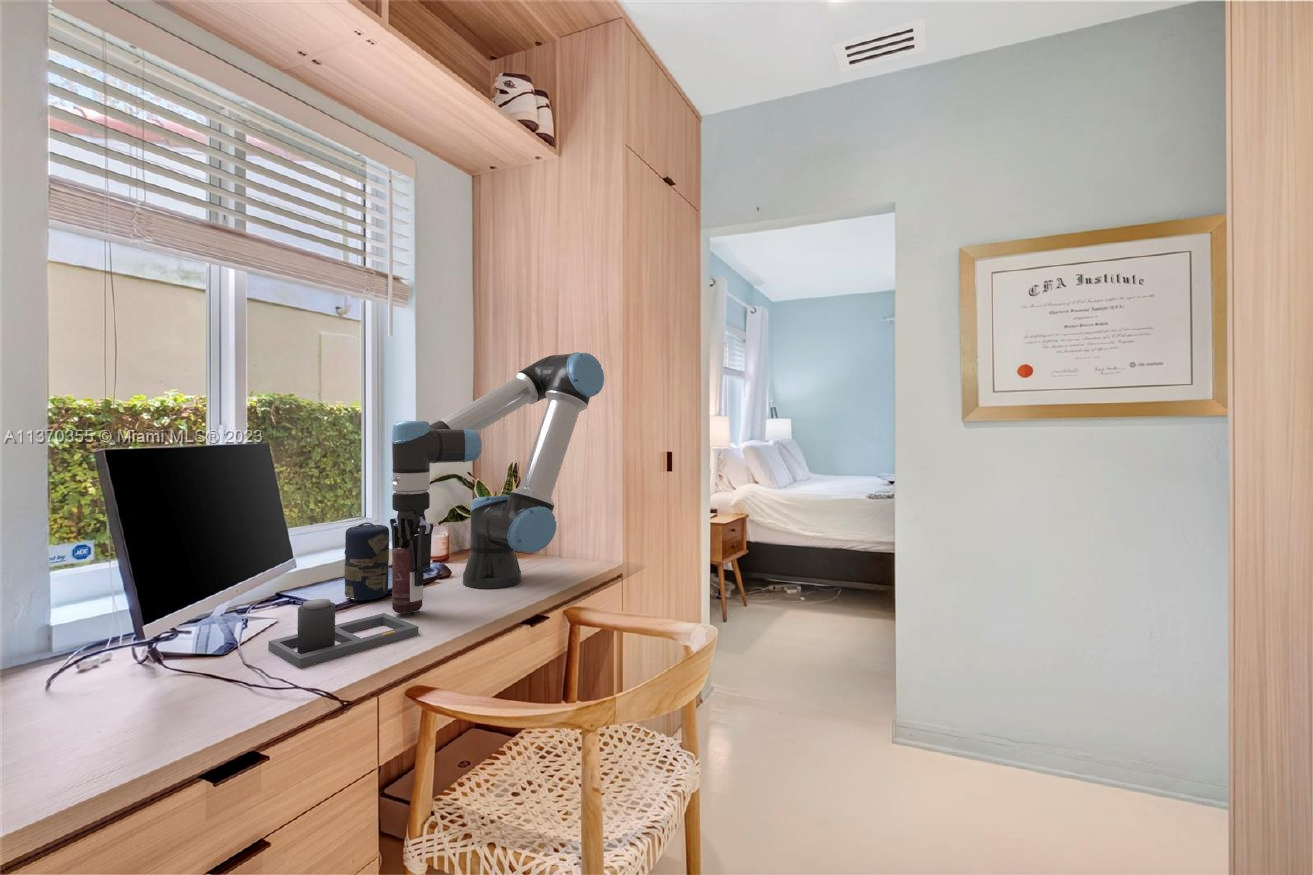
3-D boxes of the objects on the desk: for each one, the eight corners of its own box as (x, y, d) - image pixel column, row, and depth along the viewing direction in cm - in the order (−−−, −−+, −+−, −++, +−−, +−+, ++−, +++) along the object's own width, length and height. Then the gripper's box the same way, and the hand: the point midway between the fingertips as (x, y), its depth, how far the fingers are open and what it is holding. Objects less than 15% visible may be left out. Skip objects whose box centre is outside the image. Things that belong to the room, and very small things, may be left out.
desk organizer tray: (384, 620, 127) (384, 612, 127) (418, 634, 120) (418, 625, 120) (268, 649, 110) (268, 639, 110) (299, 668, 102) (299, 657, 102)
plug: (325, 641, 115) (326, 595, 114) (340, 649, 111) (341, 601, 111) (291, 650, 110) (292, 602, 110) (306, 658, 106) (306, 609, 106)
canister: (359, 605, 137) (360, 527, 137) (335, 598, 142) (336, 523, 142) (396, 596, 145) (398, 522, 145) (373, 589, 150) (374, 518, 150)
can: (413, 614, 128) (413, 549, 128) (386, 612, 129) (386, 548, 129) (428, 605, 134) (428, 543, 134) (402, 604, 135) (402, 542, 135)
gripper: (374, 490, 132) (374, 595, 133) (416, 496, 122) (416, 610, 123) (406, 487, 138) (406, 587, 139) (448, 493, 128) (448, 601, 129)
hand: (411, 598), depth 131 cm, fingers open, 3 cm apart
